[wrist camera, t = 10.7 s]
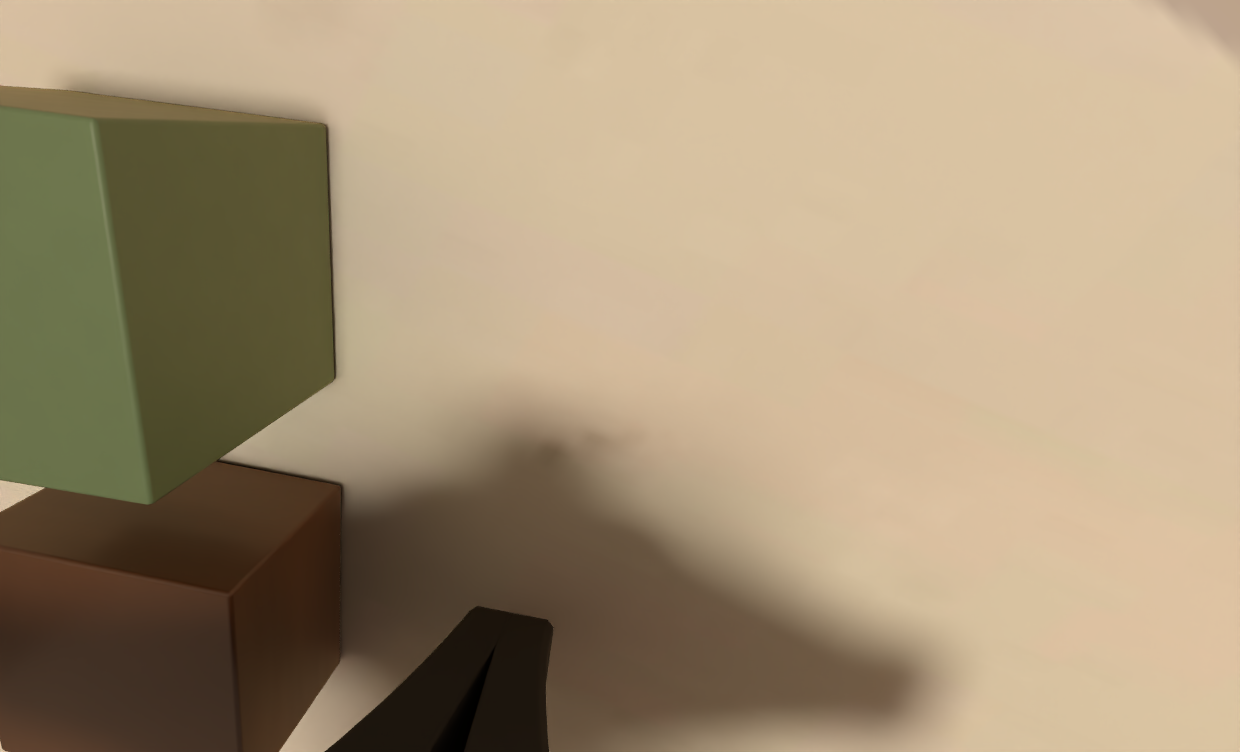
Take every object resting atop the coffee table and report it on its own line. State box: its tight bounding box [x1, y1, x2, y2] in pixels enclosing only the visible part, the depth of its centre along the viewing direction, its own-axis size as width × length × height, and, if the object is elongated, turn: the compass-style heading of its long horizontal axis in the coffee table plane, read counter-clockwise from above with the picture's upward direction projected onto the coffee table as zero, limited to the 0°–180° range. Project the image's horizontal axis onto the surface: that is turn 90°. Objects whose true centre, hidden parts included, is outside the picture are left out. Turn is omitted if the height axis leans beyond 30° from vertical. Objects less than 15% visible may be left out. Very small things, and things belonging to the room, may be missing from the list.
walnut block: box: [0, 461, 341, 752], centre depth 11 cm, size 4×4×3 cm
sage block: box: [0, 86, 334, 505], centre depth 9 cm, size 4×4×4 cm
